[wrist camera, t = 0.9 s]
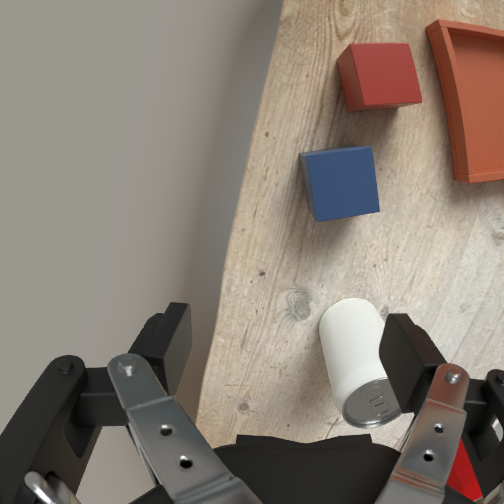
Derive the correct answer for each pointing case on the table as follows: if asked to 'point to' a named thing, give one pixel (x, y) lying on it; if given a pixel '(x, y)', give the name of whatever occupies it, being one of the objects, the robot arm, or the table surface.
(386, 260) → the table surface
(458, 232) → the table surface
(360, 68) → the red block
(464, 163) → the orange tray
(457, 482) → the bottle
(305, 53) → the table surface
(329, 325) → the can
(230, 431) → the table surface
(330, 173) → the blue block
